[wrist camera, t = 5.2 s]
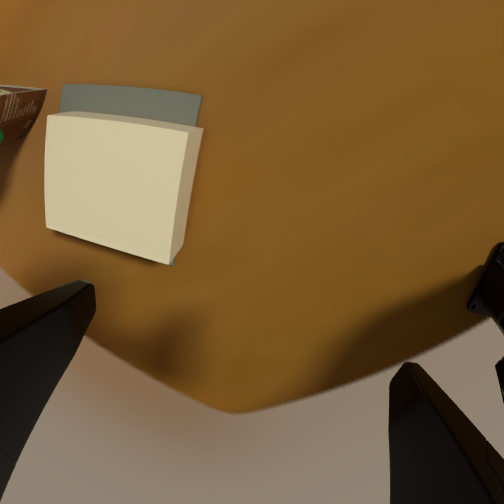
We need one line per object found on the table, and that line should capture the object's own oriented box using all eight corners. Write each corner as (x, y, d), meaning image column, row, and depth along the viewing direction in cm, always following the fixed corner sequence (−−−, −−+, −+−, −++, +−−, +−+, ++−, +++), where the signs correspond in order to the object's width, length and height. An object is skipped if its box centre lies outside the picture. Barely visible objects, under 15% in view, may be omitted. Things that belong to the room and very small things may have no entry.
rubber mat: (202, 95, 17) (201, 95, 16) (174, 264, 22) (172, 266, 22) (65, 84, 17) (62, 84, 16) (58, 229, 22) (56, 230, 22)
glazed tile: (188, 132, 15) (47, 115, 15) (168, 264, 18) (46, 227, 18) (203, 128, 17) (74, 111, 17) (183, 244, 21) (69, 212, 21)
